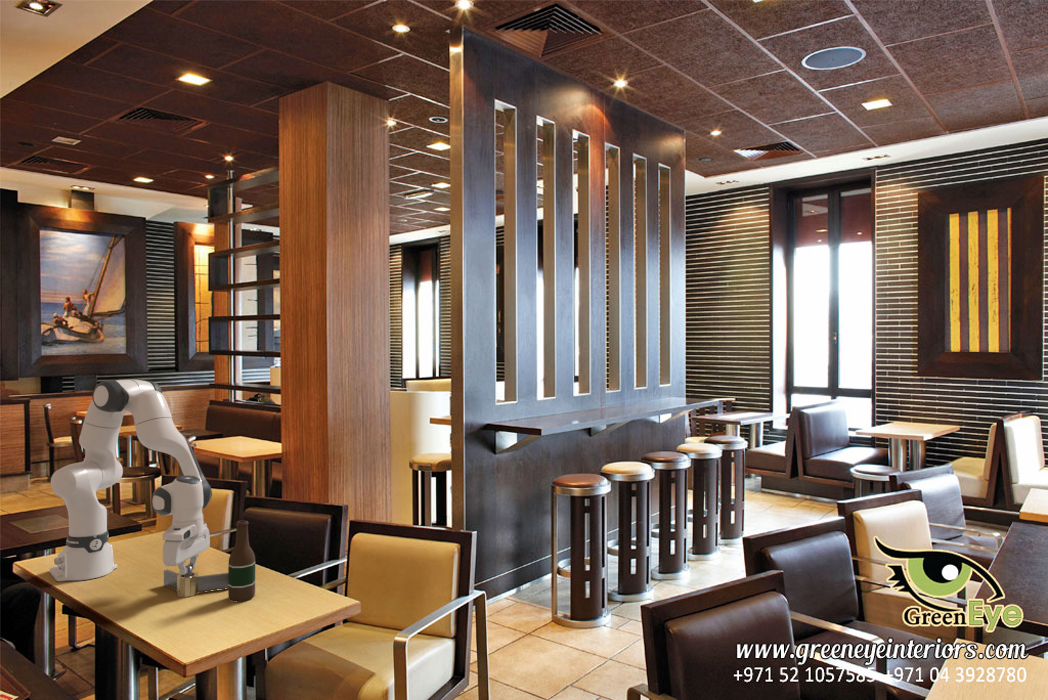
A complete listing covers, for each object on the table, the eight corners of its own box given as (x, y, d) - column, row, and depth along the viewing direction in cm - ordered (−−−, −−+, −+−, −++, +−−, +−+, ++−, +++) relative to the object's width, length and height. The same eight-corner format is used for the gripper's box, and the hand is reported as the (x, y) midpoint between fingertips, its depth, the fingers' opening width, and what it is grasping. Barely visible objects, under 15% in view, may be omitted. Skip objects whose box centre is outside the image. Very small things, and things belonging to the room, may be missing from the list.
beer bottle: (260, 595, 217) (260, 519, 217) (243, 603, 210) (243, 525, 209) (240, 592, 219) (241, 517, 219) (222, 600, 212) (222, 523, 212)
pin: (182, 595, 218) (182, 566, 217) (189, 592, 220) (189, 564, 219) (186, 596, 216) (186, 568, 216) (193, 594, 218) (193, 566, 218)
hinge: (156, 587, 223) (156, 569, 223) (201, 575, 235) (201, 557, 235) (190, 601, 211) (191, 582, 211) (236, 587, 223) (236, 569, 223)
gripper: (197, 519, 228) (196, 561, 228) (158, 536, 208) (158, 581, 208) (215, 520, 228) (214, 561, 228) (178, 537, 207) (178, 582, 207)
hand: (187, 571), depth 218 cm, fingers open, 3 cm apart
